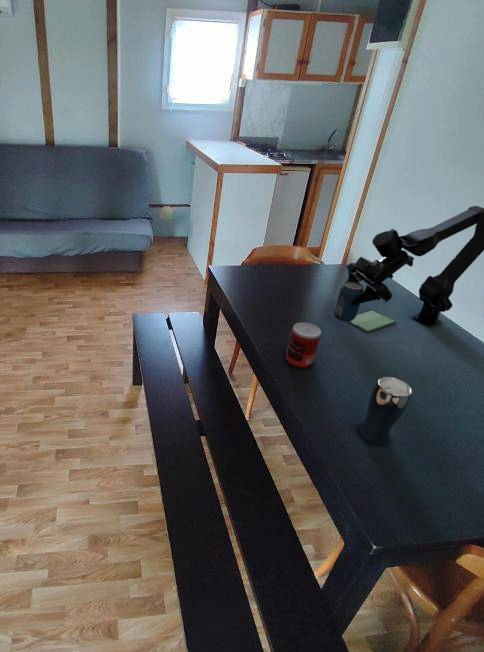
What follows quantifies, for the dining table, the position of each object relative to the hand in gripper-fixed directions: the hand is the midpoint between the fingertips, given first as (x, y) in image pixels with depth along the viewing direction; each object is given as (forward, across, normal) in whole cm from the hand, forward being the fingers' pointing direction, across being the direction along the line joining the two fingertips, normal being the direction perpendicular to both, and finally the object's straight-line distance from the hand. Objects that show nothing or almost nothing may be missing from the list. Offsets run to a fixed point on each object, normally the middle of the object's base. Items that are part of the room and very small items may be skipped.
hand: (345, 299), depth 133 cm
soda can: (+4, 0, +6) cm, 7 cm away
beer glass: (+19, +48, -5) cm, 52 cm away
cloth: (-2, -2, +16) cm, 16 cm away
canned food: (+23, +18, -9) cm, 30 cm away
